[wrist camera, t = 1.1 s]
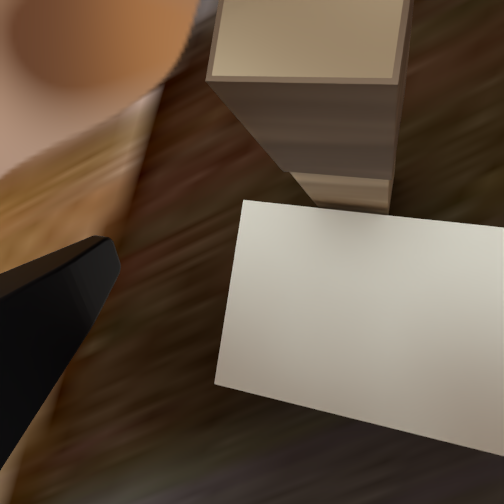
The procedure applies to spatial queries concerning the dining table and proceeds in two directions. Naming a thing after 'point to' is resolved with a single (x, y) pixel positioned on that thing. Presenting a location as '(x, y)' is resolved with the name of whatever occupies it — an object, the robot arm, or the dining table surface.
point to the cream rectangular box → (370, 319)
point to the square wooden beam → (318, 90)
